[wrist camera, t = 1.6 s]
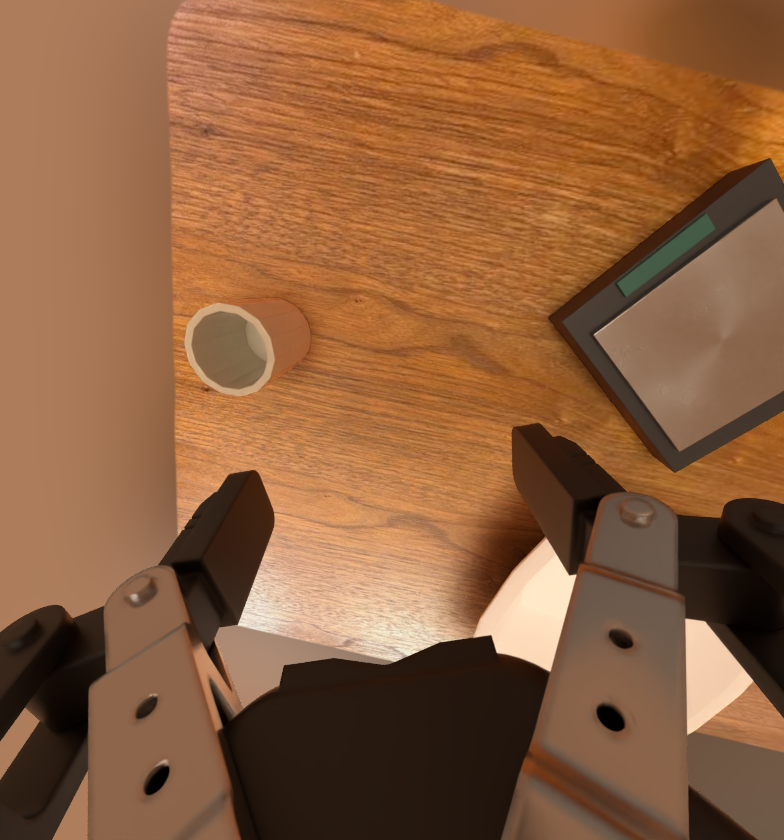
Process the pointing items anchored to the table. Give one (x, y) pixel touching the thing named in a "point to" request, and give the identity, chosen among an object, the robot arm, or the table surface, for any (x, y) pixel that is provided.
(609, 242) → the table surface
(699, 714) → the bowl
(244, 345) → the cup
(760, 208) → the scale pan
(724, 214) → the scale
